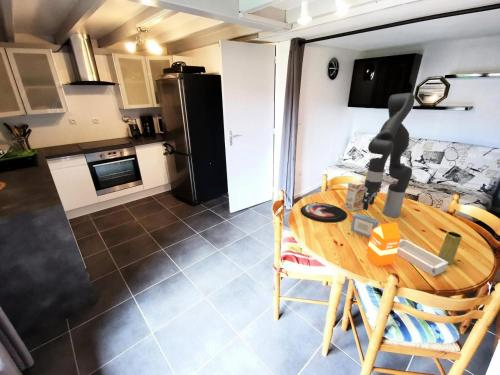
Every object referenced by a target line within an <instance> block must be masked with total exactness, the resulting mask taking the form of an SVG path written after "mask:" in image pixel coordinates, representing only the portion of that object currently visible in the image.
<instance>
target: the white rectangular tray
mask: <svg viewBox="0 0 500 375" xmlns="http://www.w3.org/2000/svg"><path fill="white" fill-rule="evenodd" d="M396 255H397V256H399V257H400V258H402V259H404V260H405V261H407V262H408V263H411V264H412V265H413V266H416V267H417V268H419V269H420V270H422V271H424V273H425V272H426V273H427V274H429V275H430V276H432V277H436V276H438V275H439V274H441V273H443V272H445V271H446V270H447V267H448V265H449V264H448V262H447V261H445V260H443V259H441V258H439V257H438V255H435V254H434V253H432V252H430V251H427V250H426V249H424V248H422V247H421V246H419V245H418V244H415V243H413V242H411V241H409V240H407V239H405V238H400V242H399V245H398V249H397V253H396Z"/></svg>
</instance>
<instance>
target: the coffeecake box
mask: <svg viewBox="0 0 500 375" xmlns="http://www.w3.org/2000/svg"><path fill="white" fill-rule="evenodd" d="M365 180H366V178H359V179H355V180H352V181H349V182H348V185H347V191H346V196H345V201H344V202H345V203H344V207H343V208H344V209H345V210H348V211H349V212H351V213H354V212H357V211H358V210H361V209H362V210H363V205H364V203H362V201H363V197H364V192H366V191H367V190H368V189H367V188H366V187H365V186H364V185H365ZM366 201H367V200H366Z"/></svg>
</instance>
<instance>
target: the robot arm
mask: <svg viewBox="0 0 500 375" xmlns="http://www.w3.org/2000/svg"><path fill="white" fill-rule="evenodd" d="M387 102H388V103H387V108H388V119H387V120H386V121H385V122H384V123H383V125H382V127H381V129H380V131H379V132H378V133H377V134H376V135H375V136H374V137H373V138H372V139H371V140H370V142H369V144H368V146H367V148H368V149H367V150H368V153H370V154H374V155H380V156H381V157H376V158H375V157H374V158H371V159H370V160H369V163H368V169H367V171H366V176H365V179H366V180H365V185H364V186H365V187H366V188H367V189H368V190H367V191H366V192H364V197H363V201H362V203H364V205H363V208H362V210H363V211H368V209H369V205H371V206H373V205H374V204H375V199H376V197H377V196H378V191H379V190H380V189H381V186H382V182H383V178H384V172H385V167H386V163H387V161H388V159H389V167H388V175H389V176H390V178H392V179H395V180H397V182H396V183H395V182H394V183H390V184H389V185H388V189H387V192H386V196H385V201H384V206H383V209H382V214H383V215H384V216H386V217H389V218H398V217H399V215H401V210H402V208H403V207H402V206H403V204H404V198H405V194H406V190H407V188H408V187H409V184H410V181H411V178H412V175H413V169H412V167H410V166H408V165H404V164H402V163H401V158H402V155H403V154H404V153H405V152H406V150H407V149H408V147H409V145H410V132H409V131H408V129H407V128H406V127H405V125H404V124H403V122H404V120H405V119H406V118H407V116H408V115H409V113H410V112H411V111H412V109H413V108H414V103H415V95H414V94H413V92H406V93H405V92H404V93H395V94H391V95H390V96H389V98H388V101H387ZM366 200H367V201H366Z"/></svg>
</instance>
